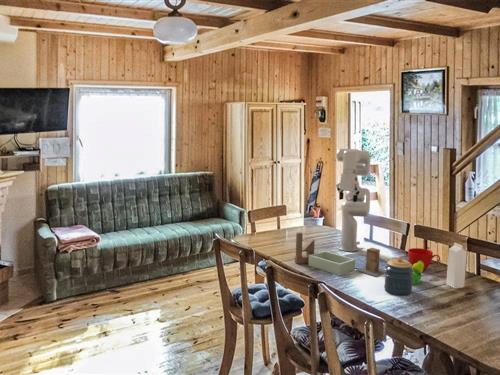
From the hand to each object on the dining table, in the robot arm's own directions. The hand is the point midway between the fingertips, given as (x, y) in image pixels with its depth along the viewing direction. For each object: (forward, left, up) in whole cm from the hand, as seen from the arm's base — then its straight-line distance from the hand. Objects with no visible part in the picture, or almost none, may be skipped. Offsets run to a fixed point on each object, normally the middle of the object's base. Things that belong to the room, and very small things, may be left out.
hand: (348, 200), depth 268 cm
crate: (+18, +4, -36) cm, 40 cm away
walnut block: (+6, +22, -35) cm, 42 cm away
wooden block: (+23, -12, -36) cm, 45 cm away
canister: (+22, +48, -36) cm, 64 cm away
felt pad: (+6, +23, -36) cm, 43 cm away
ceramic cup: (-20, +39, -36) cm, 57 cm away
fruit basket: (+3, +46, -36) cm, 58 cm away
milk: (-7, +63, -36) cm, 73 cm away
